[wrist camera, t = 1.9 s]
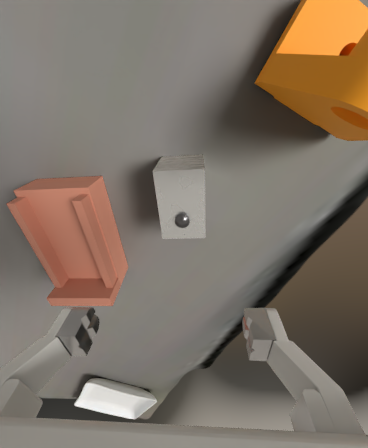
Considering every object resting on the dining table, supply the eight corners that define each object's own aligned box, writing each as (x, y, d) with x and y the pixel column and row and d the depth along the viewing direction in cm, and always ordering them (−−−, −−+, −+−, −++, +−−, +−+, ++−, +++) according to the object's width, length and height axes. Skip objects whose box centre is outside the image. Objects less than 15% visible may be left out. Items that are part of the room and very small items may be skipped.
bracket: (395, 61, 19) (634, 16, 8) (332, 136, 22) (447, 167, 12) (306, -13, 17) (483, -191, 6) (252, 83, 20) (310, 67, 10)
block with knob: (161, 156, 24) (151, 172, 19) (202, 154, 24) (204, 170, 19) (168, 214, 29) (161, 240, 23) (203, 212, 28) (205, 240, 23)
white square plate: (77, 394, 67) (72, 407, 65) (91, 369, 57) (85, 384, 54) (137, 408, 72) (134, 421, 69) (159, 387, 61) (157, 401, 58)
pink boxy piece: (36, 179, 27) (-15, 204, 20) (102, 175, 26) (71, 201, 19) (78, 267, 35) (51, 305, 29) (128, 267, 34) (112, 305, 28)
